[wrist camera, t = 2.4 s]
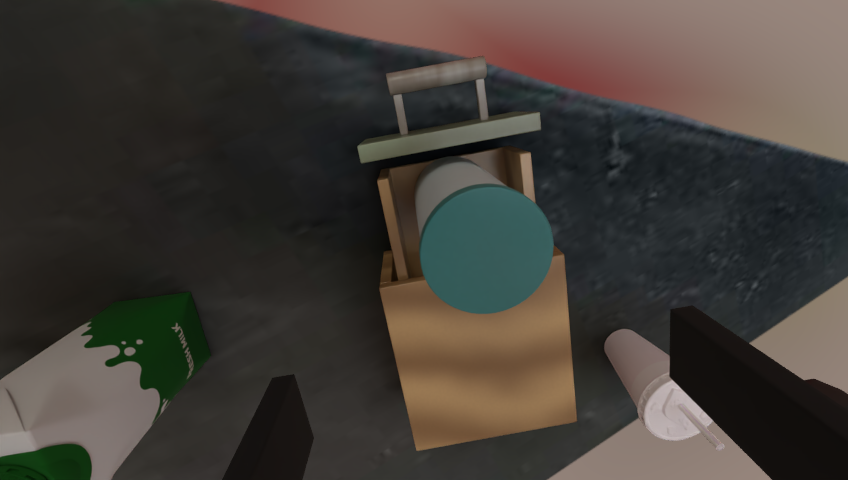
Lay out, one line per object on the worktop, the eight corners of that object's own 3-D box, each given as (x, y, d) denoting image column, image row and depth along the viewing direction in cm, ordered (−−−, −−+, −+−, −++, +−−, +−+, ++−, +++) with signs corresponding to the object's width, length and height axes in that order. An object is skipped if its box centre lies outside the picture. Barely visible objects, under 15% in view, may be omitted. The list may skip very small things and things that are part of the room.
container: (405, 162, 34) (408, 200, 19) (486, 147, 34) (548, 174, 19) (420, 239, 36) (432, 325, 21) (496, 224, 36) (559, 302, 21)
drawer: (353, 84, 33) (342, 78, 27) (509, 55, 33) (533, 42, 27) (398, 292, 38) (397, 327, 32) (531, 267, 38) (555, 297, 32)
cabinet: (383, 251, 38) (378, 288, 30) (530, 224, 38) (564, 254, 30) (413, 388, 43) (416, 451, 35) (544, 364, 43) (577, 422, 35)
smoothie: (640, 306, 41) (754, 400, 28) (660, 353, 43) (777, 464, 30) (581, 335, 42) (665, 441, 28) (604, 381, 44) (693, 500, 30)
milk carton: (223, 361, 41) (66, 584, 22) (132, 374, 41) (-107, 608, 21) (197, 280, 38) (-8, 452, 19) (99, 294, 38) (-206, 480, 19)
